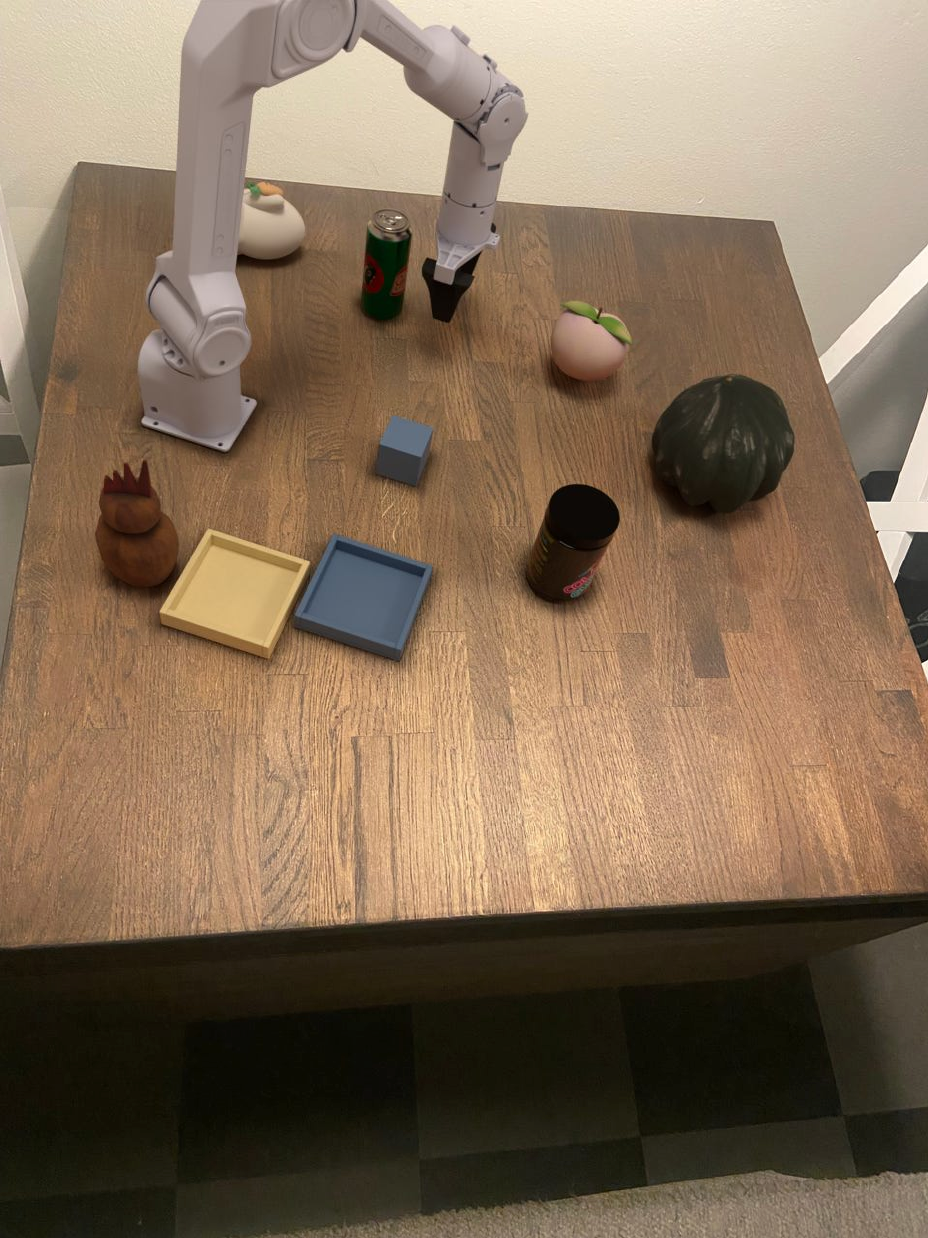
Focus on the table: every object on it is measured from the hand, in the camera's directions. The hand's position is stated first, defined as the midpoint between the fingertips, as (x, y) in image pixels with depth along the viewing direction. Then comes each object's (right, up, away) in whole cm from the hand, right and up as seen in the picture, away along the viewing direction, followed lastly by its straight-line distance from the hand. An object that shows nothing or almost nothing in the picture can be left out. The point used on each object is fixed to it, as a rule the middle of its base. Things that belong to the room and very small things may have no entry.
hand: (450, 299), depth 107 cm
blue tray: (-8, -36, -20) cm, 41 cm away
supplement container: (+11, -33, -14) cm, 38 cm away
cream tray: (-19, -35, -22) cm, 46 cm away
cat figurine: (-26, +8, +6) cm, 28 cm away
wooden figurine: (-28, -33, -22) cm, 48 cm away
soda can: (-8, 0, +4) cm, 9 cm away
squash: (+29, -22, -3) cm, 36 cm away
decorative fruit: (+15, -9, +3) cm, 18 cm away
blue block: (-5, -21, -9) cm, 23 cm away
